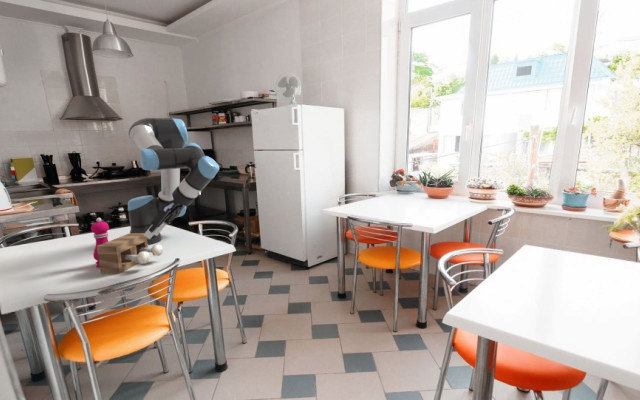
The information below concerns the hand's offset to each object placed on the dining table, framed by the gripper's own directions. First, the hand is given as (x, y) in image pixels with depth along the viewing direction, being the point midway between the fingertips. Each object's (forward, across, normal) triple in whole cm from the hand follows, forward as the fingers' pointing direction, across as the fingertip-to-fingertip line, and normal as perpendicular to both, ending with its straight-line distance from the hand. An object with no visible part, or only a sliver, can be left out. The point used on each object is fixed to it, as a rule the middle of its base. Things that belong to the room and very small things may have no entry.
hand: (150, 234), depth 125 cm
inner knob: (+13, +9, -3) cm, 16 cm away
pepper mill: (+28, +5, +8) cm, 29 cm away
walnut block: (+21, +5, +1) cm, 22 cm away
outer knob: (+13, 0, -3) cm, 14 cm away
